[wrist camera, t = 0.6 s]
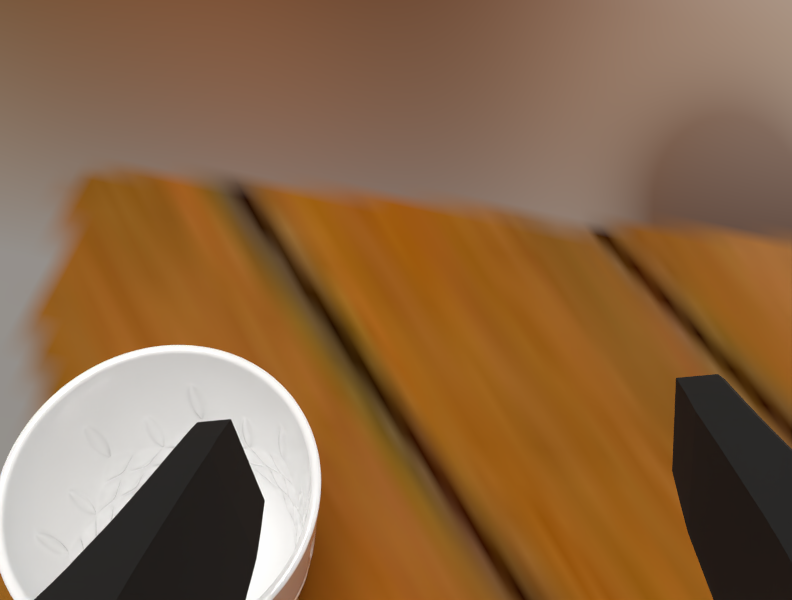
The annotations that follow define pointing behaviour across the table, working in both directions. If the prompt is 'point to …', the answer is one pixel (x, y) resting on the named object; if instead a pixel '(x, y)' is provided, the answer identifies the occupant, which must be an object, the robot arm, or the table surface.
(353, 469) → the table surface
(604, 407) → the table surface
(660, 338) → the table surface
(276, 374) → the table surface
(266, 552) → the white cup
